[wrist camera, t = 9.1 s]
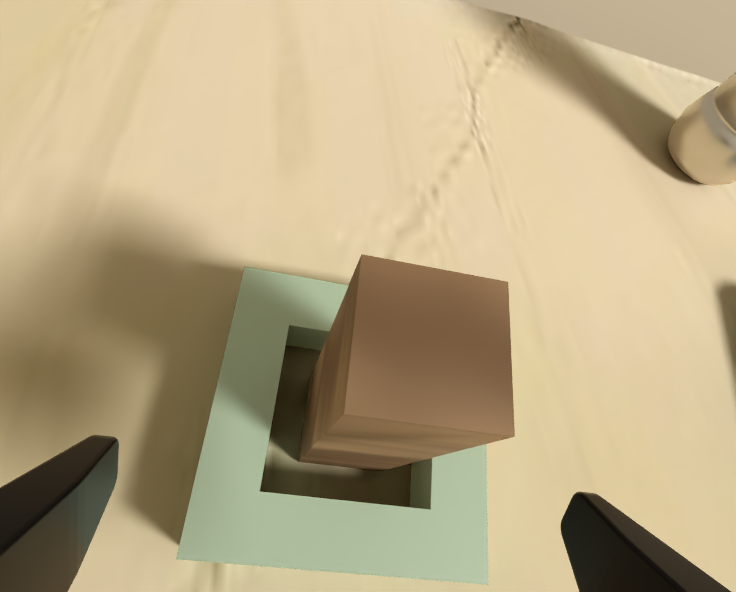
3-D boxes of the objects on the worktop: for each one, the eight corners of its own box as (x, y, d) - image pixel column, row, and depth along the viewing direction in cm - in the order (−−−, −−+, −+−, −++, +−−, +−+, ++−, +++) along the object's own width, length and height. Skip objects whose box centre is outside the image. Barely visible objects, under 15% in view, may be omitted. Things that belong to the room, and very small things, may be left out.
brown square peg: (381, 471, 22) (514, 436, 11) (297, 461, 22) (344, 413, 10) (386, 388, 24) (508, 282, 12) (310, 377, 23) (361, 254, 12)
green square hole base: (458, 574, 21) (488, 584, 19) (187, 551, 19) (176, 559, 17) (460, 329, 26) (484, 309, 24) (246, 292, 24) (244, 266, 22)
